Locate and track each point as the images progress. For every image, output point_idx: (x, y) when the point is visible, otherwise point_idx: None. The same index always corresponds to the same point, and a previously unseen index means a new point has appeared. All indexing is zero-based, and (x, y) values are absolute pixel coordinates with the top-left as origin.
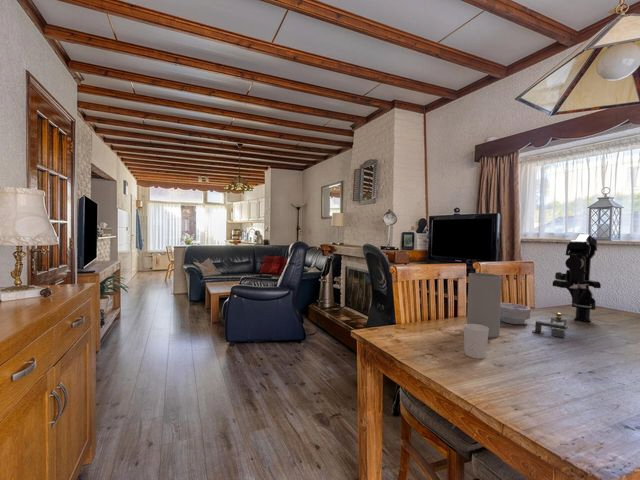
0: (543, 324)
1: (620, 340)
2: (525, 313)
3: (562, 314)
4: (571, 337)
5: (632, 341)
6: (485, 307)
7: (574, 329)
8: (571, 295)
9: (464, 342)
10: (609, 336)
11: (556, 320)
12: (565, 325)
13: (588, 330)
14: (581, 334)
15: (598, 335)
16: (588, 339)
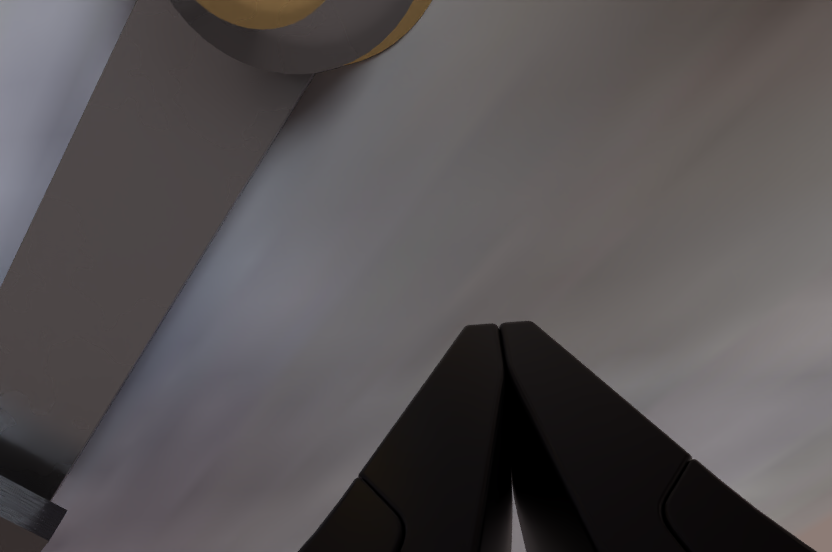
0: None
1: None
2: None
3: (301, 18)
4: (177, 444)
5: (787, 522)
6: None
7: (470, 109)
8: (367, 491)
9: None
10: (701, 388)
11: (190, 25)
12: (42, 541)
13: (666, 146)
14: (387, 337)
15: (589, 361)
16: (330, 491)
